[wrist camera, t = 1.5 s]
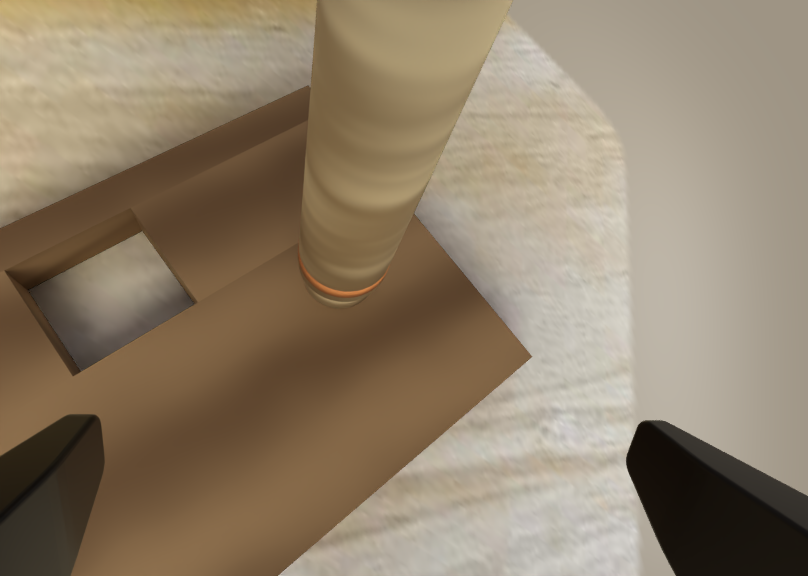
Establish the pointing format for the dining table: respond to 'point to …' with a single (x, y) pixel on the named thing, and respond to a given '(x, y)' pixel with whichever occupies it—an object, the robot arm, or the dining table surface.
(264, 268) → the walnut board
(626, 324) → the dining table surface
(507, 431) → the dining table surface
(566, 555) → the dining table surface
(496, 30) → the ash peg
